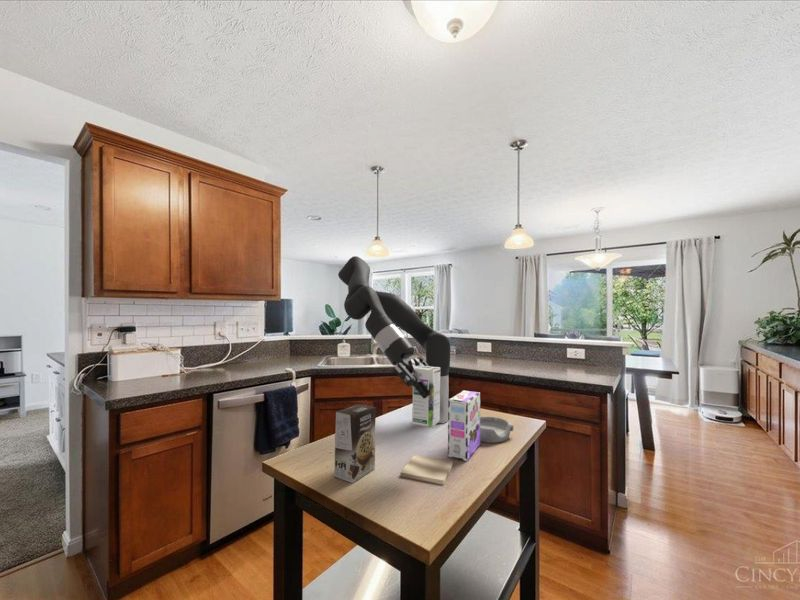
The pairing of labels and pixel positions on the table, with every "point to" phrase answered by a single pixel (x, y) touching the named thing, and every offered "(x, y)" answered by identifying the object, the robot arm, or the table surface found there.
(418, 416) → the syrup box
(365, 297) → the robot arm
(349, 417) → the grey cardboard box
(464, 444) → the candy box
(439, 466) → the maple board
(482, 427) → the dish
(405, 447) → the table surface
